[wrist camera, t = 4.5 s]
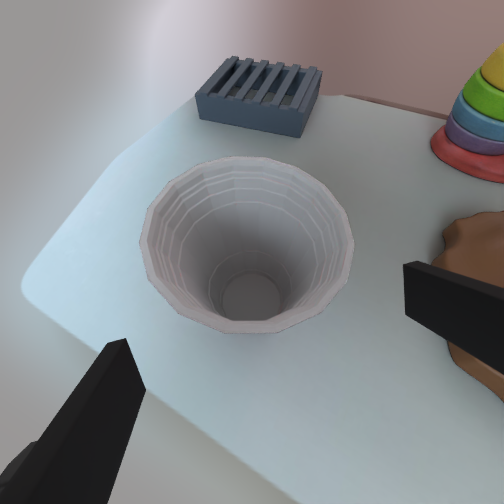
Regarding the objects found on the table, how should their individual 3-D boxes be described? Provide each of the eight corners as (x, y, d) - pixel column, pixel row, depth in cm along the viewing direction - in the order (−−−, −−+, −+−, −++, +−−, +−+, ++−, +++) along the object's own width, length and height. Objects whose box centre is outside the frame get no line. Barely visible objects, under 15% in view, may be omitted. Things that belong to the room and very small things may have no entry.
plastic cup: (309, 377, 19) (368, 357, 9) (179, 352, 20) (95, 308, 10) (315, 259, 24) (356, 159, 14) (212, 244, 26) (180, 143, 15)
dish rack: (199, 118, 38) (193, 91, 34) (229, 82, 43) (226, 55, 40) (299, 138, 35) (304, 109, 31) (317, 95, 40) (323, 67, 37)
